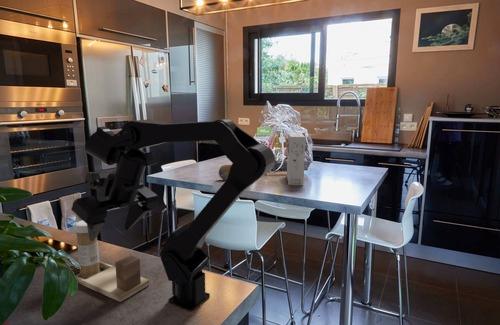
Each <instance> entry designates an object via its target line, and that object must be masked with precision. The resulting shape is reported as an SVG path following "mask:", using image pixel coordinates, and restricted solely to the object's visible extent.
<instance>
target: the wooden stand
mask: <svg viewBox="0 0 500 325" xmlns="http://www.w3.org/2000/svg"><path fill="white" fill-rule="evenodd" d="M74 260H75V261H76V262H78V263H79V258H78V257H77V258H76V259H74ZM67 264H68V266H69V267H70V268H71V269H72V271H73V272H74V275H75V276H76V278H77V281H78V283H77V284H80V285H82V286H84V287H86V288H88V289H89V290H90V289H91V290H92V291H95V292H97V293H100V294H102V295H104V296H106V297H108V298H110V299H113V300H115V301H117V302H119V303H121V302H124V301H125V300H126V299H129V298H130V297H132V296H133V295H135V294H136V293H138V292H139V291H142V290H143V289H144V288H146V287H147V286H149V285H150V279H148V278H146V277H142V276H141V262H140V258H139V257H137V256H133V255H131V254H129V255H128V256H126V257H124V258H121V259H119V260H117V261H115V262H114V264H115V266H114V265H111V264H109V263H106V262H103V261H101V260H99V268H102V269H104V270H103V271H100V273H98V274H96V275H94V276H92V277H90V278H82V277H80V276H78V275H76V274H78V273H80V269H77V268H75V267H74V266H72V265H71V264H69V262H67Z"/></svg>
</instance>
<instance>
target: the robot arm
mask: <svg viewBox="0 0 500 325" xmlns="http://www.w3.org/2000/svg"><path fill="white" fill-rule="evenodd" d="M211 141H213V142H214V141H215V143H216V144H217V145H218V146H219V148H220V149H221V150H222V152H223V154H224V156H225V157H226V158H227V159H228V160H229V161H230V162H231V163H232V164H230V165H231V167H230V169H229V173H228V176H227V179H226V180H224V183H223V184H222V185H221V186H220V187H219V189H217V191H216V192H215V193H214V195H213V196H212V197H211V198H210V200H209V201H208V202H207V203H206V205H205V206H204V207H203V208H202V210H200V212H199V213H198V214H197V215H196V217H195V218H194V219H193V221H192V222H191V223H190V224H187V223H186V222H185V223H183V224H182V225H181V226H179V227H178V228H176V229H175V230H173V231H171V233H170V234H169V236H168V237H167V239H166V240H165V242H163V243H162V244H160V247H161V249H160V251H159V256H160V260H161V263H162V265H163V268H164V271H165V274H166V277H167V280H168V281H169V282H171V288H172V289H171V290H172V296H171V297H169V298H168V300H167V301H168V303H169V304H172V305H175V306H177V307H179V308H181V309H184V310H187V311H189V312H193V311H194V310H196V308H198V307H199V306H200V305H201V304H203V303H205V301H207V300H208V299H209V298H210V297H211V294H210V293H209V292H206V273H205V272H203V270H204V269H205V268H206V267H208V264H209V262H210V259H211V258H210V256H209V255H208V253H207V252H206V251H205V250H204V249H203V248H202V247H203V246H204V244H205V240H206V237H207V235H208V234H209V233H210V232H211V231H212V230H213V228H214V227H215V226H217V224H218V223H219V221H220V220H221V219H222V218H223V217H224V215H225V214H226V213H227V212H228V211H229V210H230V208H231V207H232V206H233V205H234V204H235V202H236V201H238V199H239V198H240V197H241V195H243V193H244V192H245V191H246V190H247V189H248V188H250V187H251V186H252V185H254V184H255V183H257V181H258V180H260V179H261V178H263V176H265V175H266V174H267V173H269V172H270V171H271V170H272V169H273V168H274V167H275V163H276V157H275V153H274V151H273V150H272V149H271V148H270V147H269V146H268V145H266V144H262V143H260V142H259V141H258V140H257V139H255V137H254V136H252V135H250V134H249V133H247V132H246V131H245V130H243V129H242V128H240V126H239V125H237V123H235V122H234V121H233V120H231V119H229V118H228V119H227V118H222V119H216V120H209V121H205V120H204V121H195V122H194V121H193V122H191V121H190V122H177V123H174V122H173V123H171V122H166V121H161V120H157V119H156V120H155V119H140V120H139V119H137V120H135V119H134V120H128V121H126V122H124V124H123V126H122V128H121V130H120V131H118V132H117V133H115V132H114V131H111V129H109V128H108V127H106V126H99V127H97V128H96V131H95V132H93V133H92V134H91V135H89V138H87V140H86V141H85V143H84V150H85V152H86V153H87V154H89V155H90V156H91V157H94V158H95V159H96V160H97V159H98V161H100V162H102V163H104V164H106V165H107V166H113V165H115V164H116V166H115V168H114V172H112V173H111V172H103V173H101V172H100V173H99V172H95V171H89V172H87V173H86V176H85V178H84V185H85V187H88V188H90V189H92V190H98V191H100V195H101V196H103V197H106V200H102V201H100V200H98V199H97V198H96V197H95V196H94V195H91V196H85V197H84V196H83V197H78V198H76V199H74V200H73V202H72V206H71V211H72V212H73V213H74V214H76V216H77V217H79V219H80V220H81V221H82V220H83V221H84V222H85V223H87V228H88V234H89V239H90V240H91V241H94V240H95V238H96V237H97V238H98V235H99V234H100V231H102V228H103V227H104V225H105V223H106V220H105V219H106V218H107V215H108V212H110V211H113V210H117V209H122V208H126V207H129V208H128V210H127V215H126V219H125V222H124V230H125V231H130V229H131V228H132V227H133V226H134V225H136V224H137V223H138V222H139V221H140V220H141V219H143V218H144V216H146V215H147V214H148V213H150V212H151V211H153V209H154V208H157V207H158V204H159V202H160V199H159V196H158V194H156V193H155V192H154V191H152V190H151V188H150V189H149V188H148V187H147V186H145V183H144V182H142V179H143V176H144V172H145V169H146V167H149V166H153V165H156V164H158V161H157V159H156V157H155V155H154V153H153V152H152V151H149V152H148V151H147V152H146V151H144V150H141V149H144V148H149V147H155V146H158V145H161V144H166V143H167V144H168V143H182V142H183V143H184V142H185V143H187V142H188V143H189V142H211Z"/></svg>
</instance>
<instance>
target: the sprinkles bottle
mask: <svg viewBox="0 0 500 325" xmlns="http://www.w3.org/2000/svg"><path fill="white" fill-rule="evenodd" d="M74 228H75V229H74V230H75V234H76V240H77V243H76V244H77V255H78V257H77V259H78V258H79V264H80V266H81V269H80V272H79V277H80V278H83V279H88V278H90V277H92V276H94V275H96V274H98V273H100V272H101V268H100V267H99V261H100V257H99V256H100V255H99V254H100V253H99V244H98V236H97V237H96V238H95V240H94V241H91V240H90V239H89V234H88V228H87V223H85V222H84V221H83V220H82V219H81V220H79V221H77V222H76V223H75V225H74Z"/></svg>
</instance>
